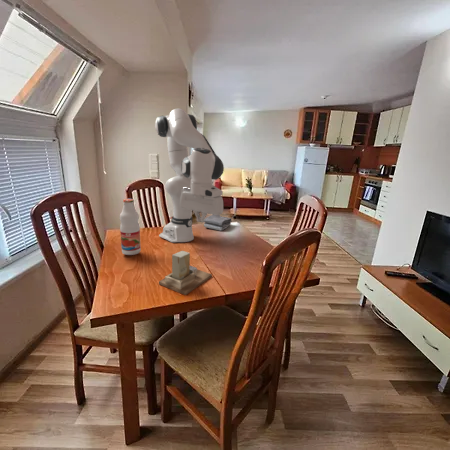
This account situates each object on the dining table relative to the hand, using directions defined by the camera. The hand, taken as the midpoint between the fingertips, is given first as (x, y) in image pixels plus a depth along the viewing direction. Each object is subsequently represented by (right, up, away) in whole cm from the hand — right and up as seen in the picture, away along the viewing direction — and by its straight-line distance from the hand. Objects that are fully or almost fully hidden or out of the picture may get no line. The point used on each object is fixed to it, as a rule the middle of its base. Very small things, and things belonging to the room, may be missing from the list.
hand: (200, 221), depth 106 cm
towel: (+5, -3, +76) cm, 77 cm away
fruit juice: (-39, -16, +25) cm, 49 cm away
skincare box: (-8, -25, -4) cm, 26 cm away
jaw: (-5, -23, +1) cm, 24 cm away
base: (-6, -25, 0) cm, 26 cm away
